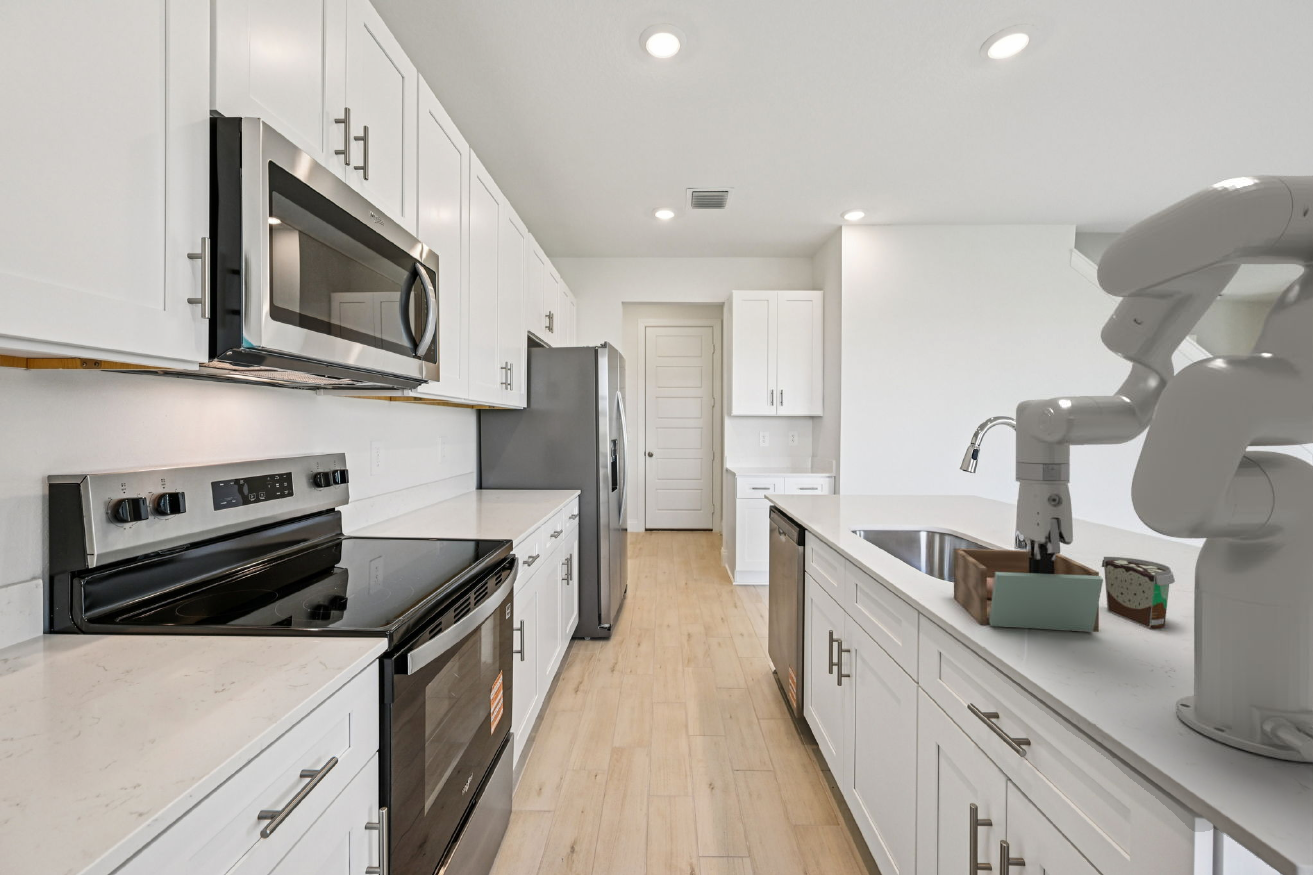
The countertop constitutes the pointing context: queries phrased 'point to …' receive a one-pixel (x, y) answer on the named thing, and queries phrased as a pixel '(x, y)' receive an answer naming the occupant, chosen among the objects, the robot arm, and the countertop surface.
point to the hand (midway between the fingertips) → (1041, 581)
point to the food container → (1137, 590)
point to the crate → (983, 564)
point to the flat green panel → (1045, 601)
